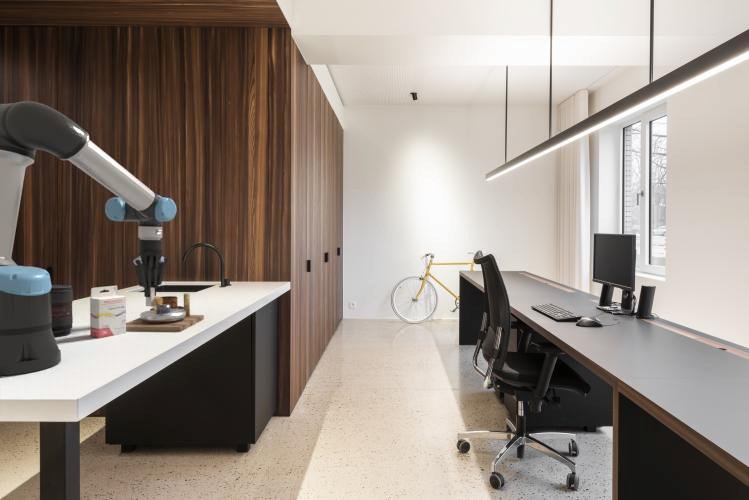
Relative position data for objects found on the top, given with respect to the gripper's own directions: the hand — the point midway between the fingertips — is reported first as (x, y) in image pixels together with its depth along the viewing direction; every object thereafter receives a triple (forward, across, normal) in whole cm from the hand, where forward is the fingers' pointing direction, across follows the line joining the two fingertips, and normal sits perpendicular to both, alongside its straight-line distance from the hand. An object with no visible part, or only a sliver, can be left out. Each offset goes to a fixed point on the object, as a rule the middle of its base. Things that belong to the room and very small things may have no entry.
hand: (150, 306), depth 160 cm
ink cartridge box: (+6, -20, -6) cm, 21 cm away
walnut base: (+5, -2, -9) cm, 10 cm away
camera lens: (+6, -27, +7) cm, 28 cm away
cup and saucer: (+6, +14, +8) cm, 17 cm away
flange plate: (+3, -1, -7) cm, 8 cm away
